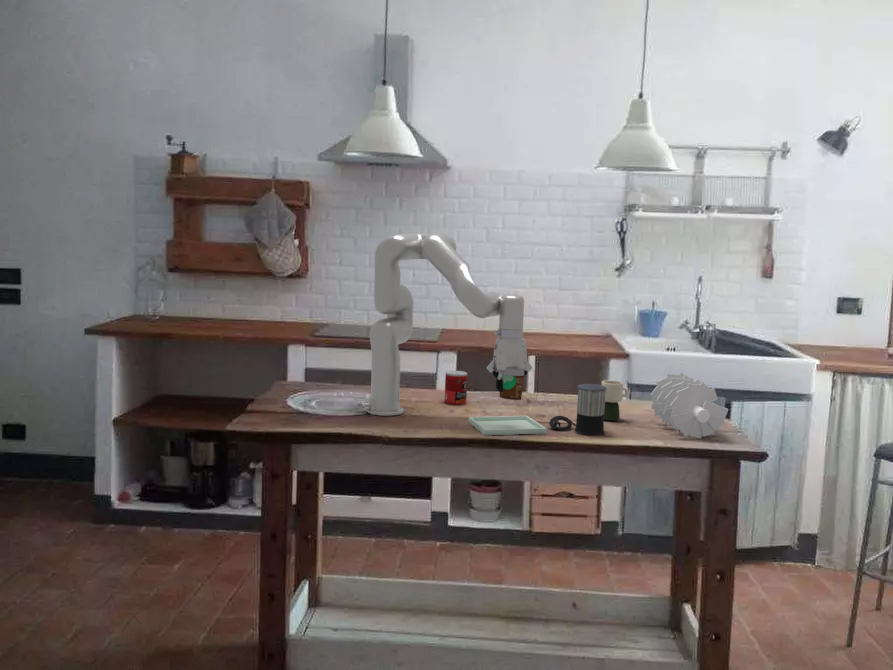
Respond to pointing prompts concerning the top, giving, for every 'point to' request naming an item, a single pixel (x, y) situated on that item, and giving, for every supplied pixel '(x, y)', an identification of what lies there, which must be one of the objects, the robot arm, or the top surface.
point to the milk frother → (586, 411)
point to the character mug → (613, 398)
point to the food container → (512, 383)
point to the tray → (506, 425)
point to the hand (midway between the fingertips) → (508, 390)
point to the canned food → (455, 387)
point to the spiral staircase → (687, 405)
